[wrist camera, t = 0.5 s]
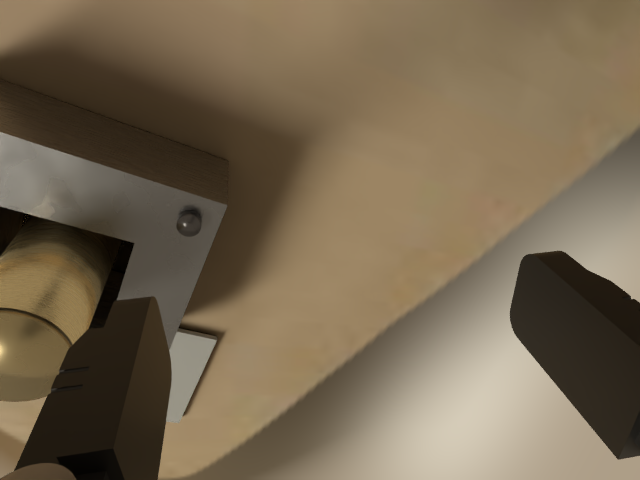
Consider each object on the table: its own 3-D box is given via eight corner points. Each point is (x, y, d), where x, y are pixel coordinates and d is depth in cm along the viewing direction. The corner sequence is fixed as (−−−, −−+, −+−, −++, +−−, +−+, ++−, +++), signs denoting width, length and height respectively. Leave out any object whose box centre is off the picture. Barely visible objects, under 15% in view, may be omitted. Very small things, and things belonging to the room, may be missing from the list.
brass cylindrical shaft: (47, 172, 27) (-60, 301, 17) (135, 198, 29) (83, 330, 19) (33, 240, 29) (-69, 390, 19) (116, 261, 31) (61, 409, 21)
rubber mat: (78, 306, 32) (77, 310, 32) (217, 336, 36) (217, 340, 36) (53, 400, 37) (51, 404, 36) (179, 419, 40) (178, 423, 40)
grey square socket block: (-34, 67, 24) (-115, 102, 18) (228, 160, 29) (227, 210, 23) (-56, 277, 30) (-121, 351, 24) (165, 325, 35) (152, 396, 29)
